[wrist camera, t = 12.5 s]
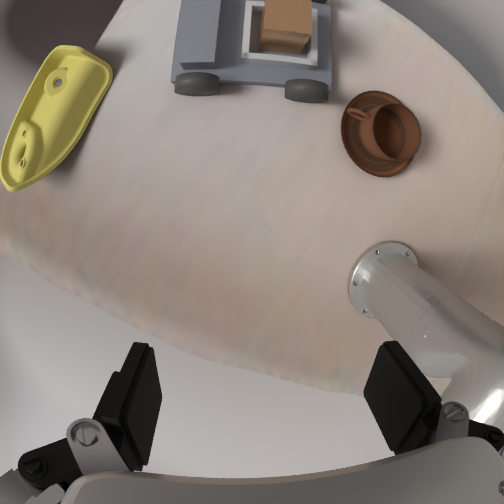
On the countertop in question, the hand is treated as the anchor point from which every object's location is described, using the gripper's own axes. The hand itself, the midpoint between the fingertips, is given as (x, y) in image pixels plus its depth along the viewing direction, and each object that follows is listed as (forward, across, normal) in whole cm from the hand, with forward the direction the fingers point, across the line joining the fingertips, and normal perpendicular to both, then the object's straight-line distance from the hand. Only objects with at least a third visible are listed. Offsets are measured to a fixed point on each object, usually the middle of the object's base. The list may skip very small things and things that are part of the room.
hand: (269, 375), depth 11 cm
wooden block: (+27, -3, -25) cm, 37 cm away
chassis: (+28, 0, -25) cm, 38 cm away
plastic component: (+29, +28, -15) cm, 43 cm away
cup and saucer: (+29, -18, -14) cm, 36 cm away
